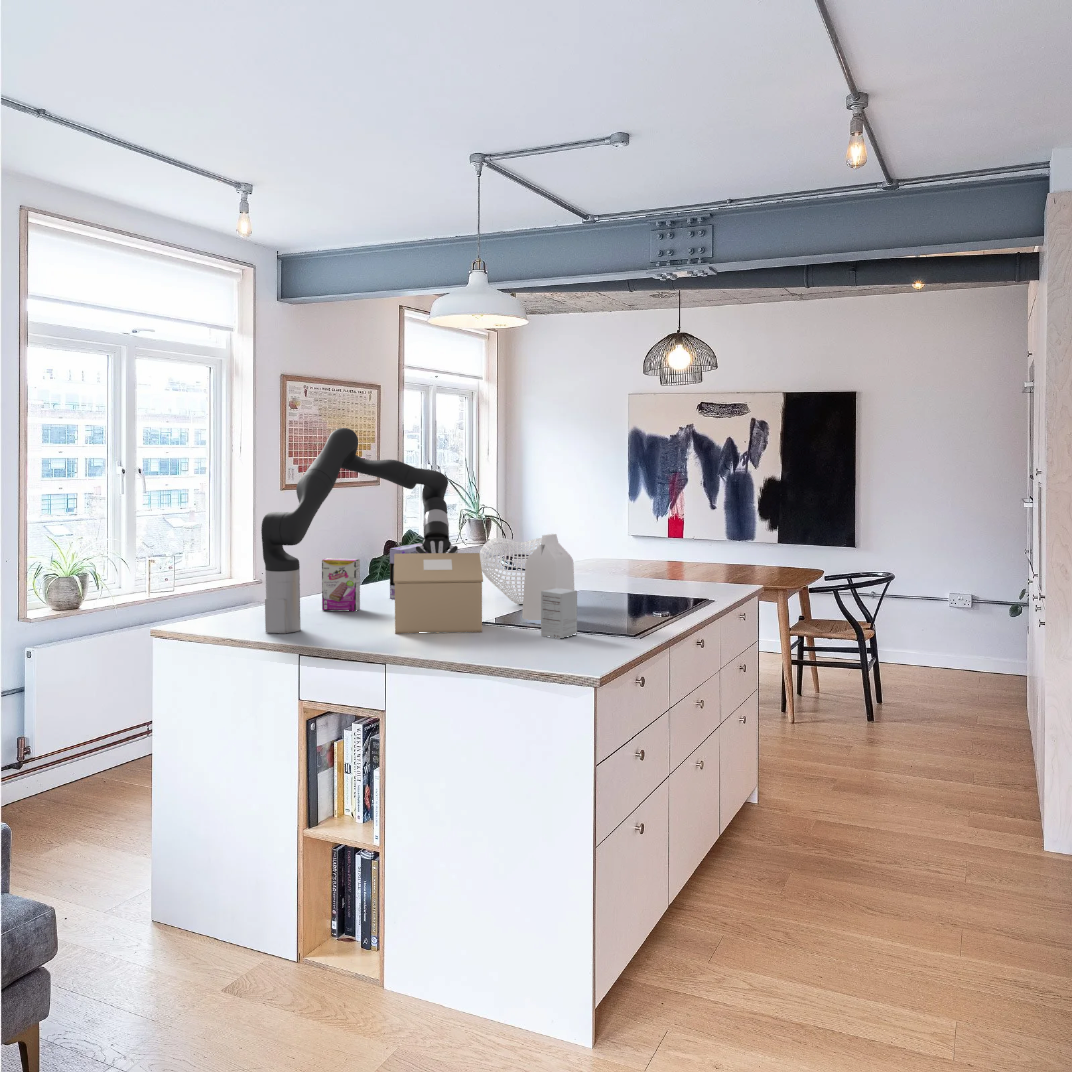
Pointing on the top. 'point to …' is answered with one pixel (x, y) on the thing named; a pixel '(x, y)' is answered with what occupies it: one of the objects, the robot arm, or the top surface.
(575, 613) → the supplement box
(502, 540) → the white mesh basket
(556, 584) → the milk
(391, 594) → the cake pan box
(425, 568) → the carton lid
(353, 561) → the candy bar box
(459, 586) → the carton
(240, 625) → the top surface
